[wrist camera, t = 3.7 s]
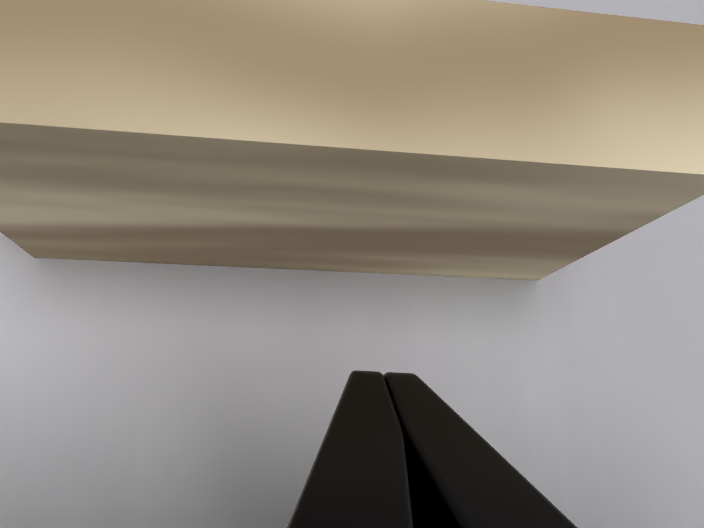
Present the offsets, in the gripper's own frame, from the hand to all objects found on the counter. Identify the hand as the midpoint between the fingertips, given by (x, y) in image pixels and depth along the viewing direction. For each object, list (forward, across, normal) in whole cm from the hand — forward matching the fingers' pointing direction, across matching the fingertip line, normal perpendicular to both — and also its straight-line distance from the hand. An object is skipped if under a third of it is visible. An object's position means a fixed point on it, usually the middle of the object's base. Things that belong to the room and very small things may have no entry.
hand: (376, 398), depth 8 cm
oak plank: (+10, +1, +2) cm, 10 cm away
